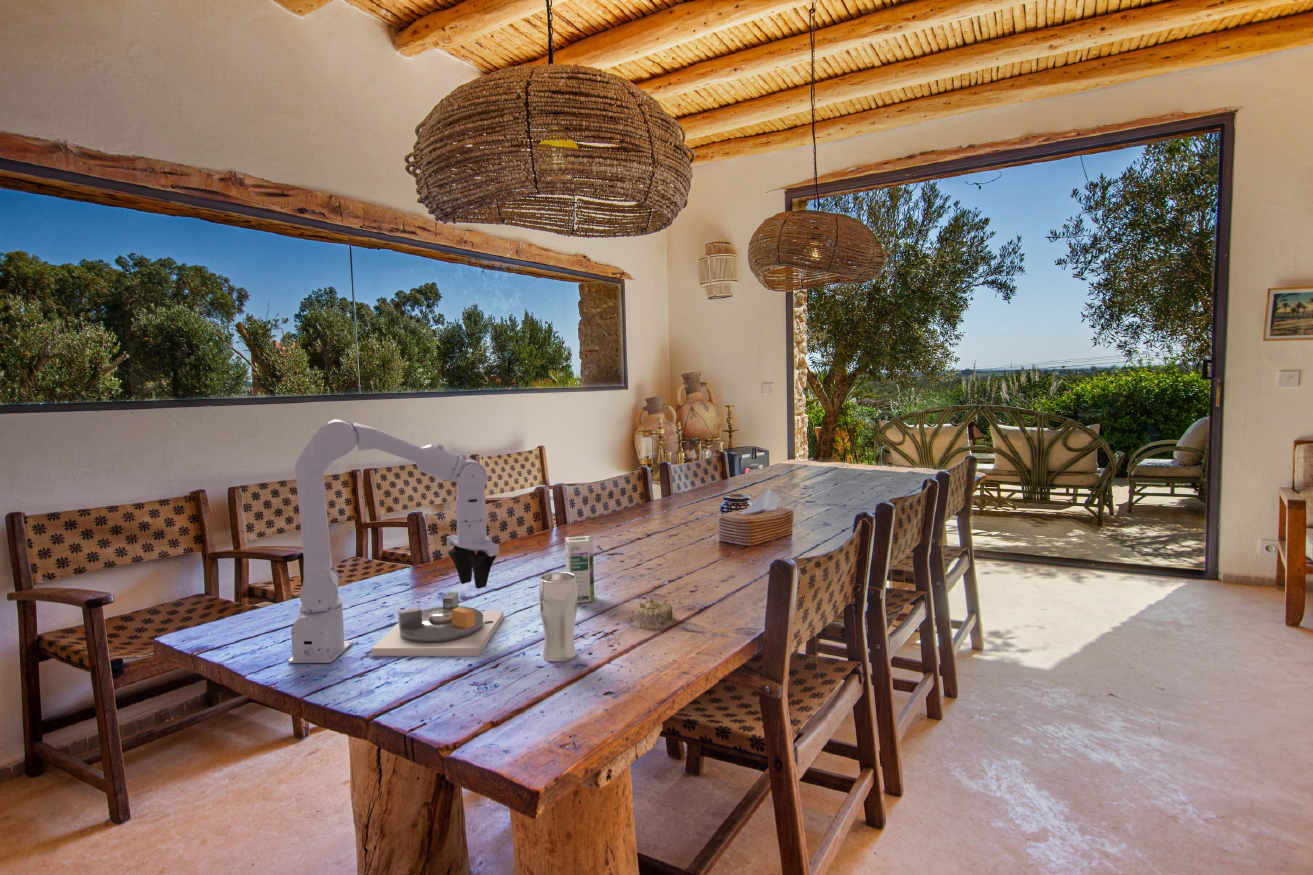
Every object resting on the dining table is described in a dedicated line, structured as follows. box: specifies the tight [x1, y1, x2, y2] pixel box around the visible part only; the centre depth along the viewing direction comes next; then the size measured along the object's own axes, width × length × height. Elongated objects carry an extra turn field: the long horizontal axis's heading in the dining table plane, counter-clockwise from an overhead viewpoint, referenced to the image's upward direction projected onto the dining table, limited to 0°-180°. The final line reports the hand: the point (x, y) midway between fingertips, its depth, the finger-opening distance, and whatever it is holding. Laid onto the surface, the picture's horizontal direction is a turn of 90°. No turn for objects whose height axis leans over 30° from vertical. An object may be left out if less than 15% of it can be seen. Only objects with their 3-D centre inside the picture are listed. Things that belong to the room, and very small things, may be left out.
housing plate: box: [371, 610, 504, 657], centre depth 139 cm, size 20×20×2 cm
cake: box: [627, 598, 675, 630], centre depth 146 cm, size 10×10×5 cm
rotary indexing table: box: [398, 591, 483, 643], centre depth 138 cm, size 16×16×5 cm
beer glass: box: [538, 571, 578, 663], centre depth 128 cm, size 7×7×15 cm
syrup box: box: [564, 535, 595, 604], centre depth 160 cm, size 6×6×14 cm
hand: (473, 584), depth 141 cm, fingers open, 4 cm apart
